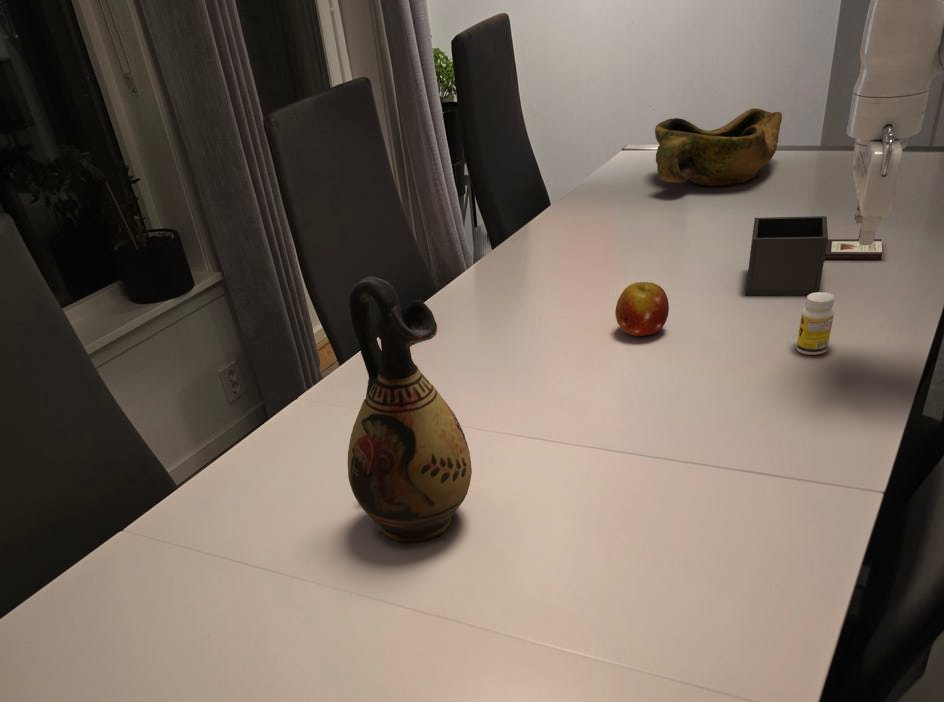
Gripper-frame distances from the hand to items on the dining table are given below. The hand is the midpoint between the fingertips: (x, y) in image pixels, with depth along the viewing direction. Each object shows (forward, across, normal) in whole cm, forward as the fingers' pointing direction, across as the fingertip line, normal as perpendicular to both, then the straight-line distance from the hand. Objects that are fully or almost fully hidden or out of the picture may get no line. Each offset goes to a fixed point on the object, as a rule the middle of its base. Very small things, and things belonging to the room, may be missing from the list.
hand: (863, 232), depth 116 cm
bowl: (+20, +111, +27) cm, 116 cm away
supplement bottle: (+20, +7, +4) cm, 21 cm away
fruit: (+20, +13, +31) cm, 39 cm away
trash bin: (+20, +37, +8) cm, 43 cm away
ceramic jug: (+20, -48, +53) cm, 74 cm away
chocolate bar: (+20, +54, -1) cm, 58 cm away
